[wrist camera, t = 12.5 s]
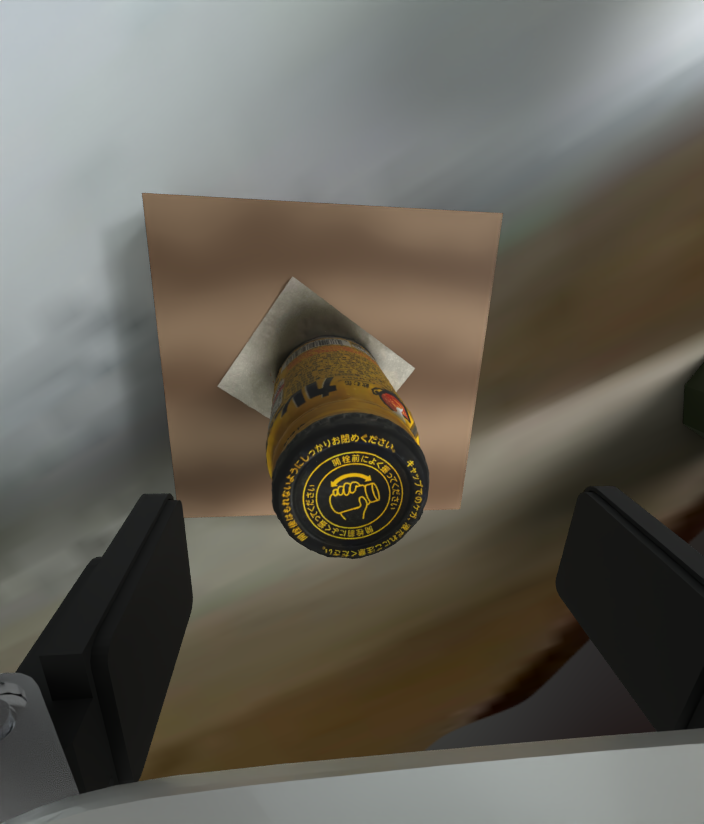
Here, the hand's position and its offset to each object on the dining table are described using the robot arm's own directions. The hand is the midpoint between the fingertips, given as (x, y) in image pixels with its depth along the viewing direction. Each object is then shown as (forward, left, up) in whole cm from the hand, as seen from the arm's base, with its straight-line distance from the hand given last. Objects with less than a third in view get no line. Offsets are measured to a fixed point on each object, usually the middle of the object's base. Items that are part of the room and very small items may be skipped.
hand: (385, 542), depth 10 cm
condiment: (0, -1, -16) cm, 16 cm away
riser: (0, 0, -20) cm, 20 cm away
